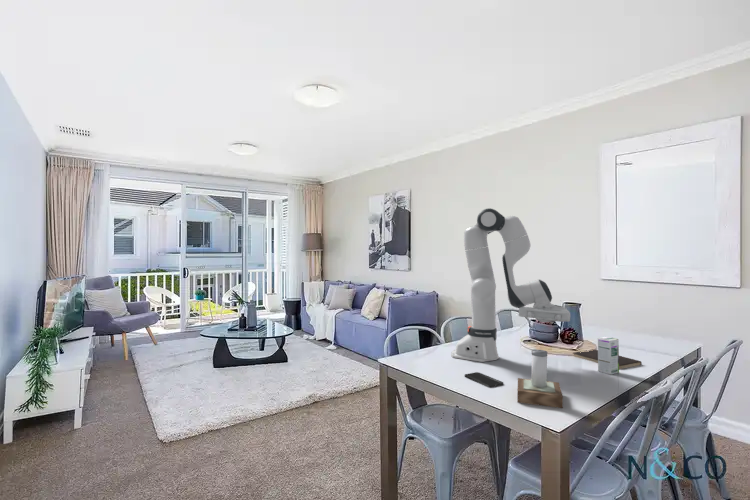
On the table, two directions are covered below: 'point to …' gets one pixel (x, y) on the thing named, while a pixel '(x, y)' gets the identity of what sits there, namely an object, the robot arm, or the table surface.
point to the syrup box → (608, 355)
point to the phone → (484, 379)
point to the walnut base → (539, 394)
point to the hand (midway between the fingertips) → (544, 316)
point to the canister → (539, 368)
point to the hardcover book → (593, 357)
